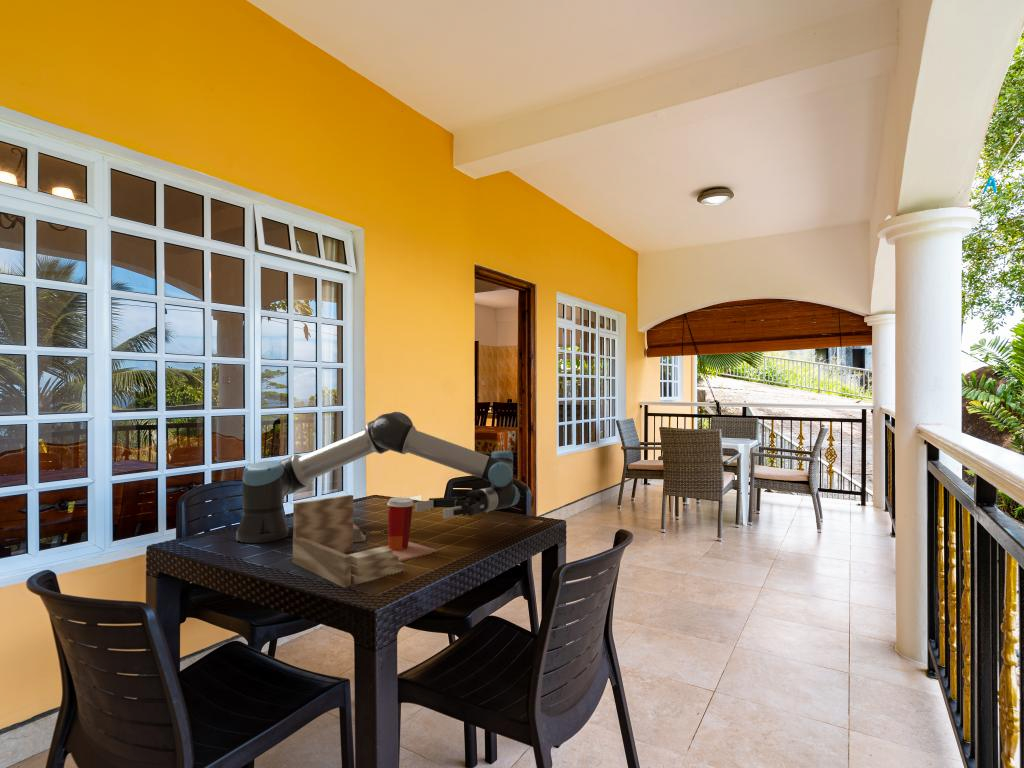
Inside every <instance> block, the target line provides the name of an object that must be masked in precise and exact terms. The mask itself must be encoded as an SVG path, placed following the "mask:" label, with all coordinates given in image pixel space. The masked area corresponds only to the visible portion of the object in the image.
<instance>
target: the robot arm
mask: <svg viewBox="0 0 1024 768" xmlns="http://www.w3.org/2000/svg"><path fill="white" fill-rule="evenodd" d="M389 451H393V452H396V453H399V454H401V455H406V454H411V455H413V456H416V457H420V458H423V459H424V460H425V459H426V460H428V461H430V462H434V463H437V464H440V465H443V466H445V467H447V468H451V469H454V470H457V471H459V472H462V473H464V474H468V475H471V476H474V477H476V478H479V479H483V480H485V481H486V482H489V483H491V484H490V487H486V488H479V489H473V490H470V491H469V492H467V494H466V496H460V497H459V496H457V495H455V496H449V497H448V496H447V497H430V498H428V500H423V501H418V502H415V503H414V507H415V508H414V509H415V512H417V513H418V512H423V511H428V510H430V511H433V510H434V508H439V509H440V508H443V509H442V519H451V518H456V517H460V516H469V517H472V516H474V515H477V514H481V513H486V514H488V513H489V512H490V511H495V510H500V509H507V508H511V507H513V506H515V505H517V504H518V503H519V501H520V497H521V494H520V491H519V488H518V487H517V486H516V485H515V484H514V454H513V452H512V451H511V450H494V451H492V452H491V455H487V454H484V453H481V452H478V451H476V450H472V449H470V448H467V447H465V446H461V445H458V444H456V443H453V442H450V441H449V440H448V441H447V440H445V439H442V438H439V437H436V436H434V435H431V434H427V433H425V432H422V431H419V430H417V429H416V427H415V425H414V423H413V421H412V420H411V418H410V417H409V416H408V415H407V414H405V413H403V412H400V411H394V412H392V411H391V412H390V413H387V412H386V413H383V414H381V415H379V416H378V417H377V418H375V419H373V420H371V421H369V422H367V423H366V425H365V428H364V429H362V430H359V431H358V432H355V433H353V434H350V435H348V436H346V437H344V438H342V439H339V440H337V441H334V442H332V443H330V444H328V445H325V446H322V447H320V448H319V449H316V450H313V451H311V452H309V453H306V454H304V455H303V456H302V455H299V454H294V455H292V456H289V457H288V458H287V457H286V458H284V459H282V460H280V461H276V460H265V461H259V462H253V463H250V464H247V465H246V466H245V467H244V469H243V473H242V476H241V477H242V516H241V518H240V520H239V524H238V527H237V530H236V533H235V540H236V541H237V542H238V541H240V542H239V543H243V542H245V544H257V543H258V544H259V543H267V542H268V543H270V542H275V541H278V540H281V539H282V540H283V539H284V538H286V537H288V536H289V526H288V524H287V520H286V517H285V514H284V509H283V505H284V503H283V501H284V497H286V496H288V495H292V494H294V493H296V492H297V491H300V490H301V489H304V488H306V487H308V486H310V485H311V484H312V480H314V479H315V478H318V477H322V476H323V475H325V474H327V473H329V472H330V473H331V472H332V471H334V470H336V469H339V468H341V467H343V466H346V465H348V464H350V463H352V462H355V461H358V460H360V459H362V458H364V457H366V456H369V455H371V454H373V453H377V454H378V455H379V454H380V455H382V454H384V453H387V452H389Z"/></svg>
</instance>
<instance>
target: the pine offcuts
mask: <svg viewBox="0 0 1024 768" xmlns="http://www.w3.org/2000/svg"><path fill="white" fill-rule="evenodd" d="M347 555H349V556H351V585H353V586H357V585H359V584H364V583H366V582H370V581H374V580H378V579H381V578H384V576H385V577H388V576H387V575H389V576H392V575H396V574H399V573H402V572H401V571H403V572H405V568H404V567H405V566H404V565H405V563H403V562H402V561H401V562H398V556H395V555H393V550H392V549H389V548H386V547H384V546H379V547H374V548H371V549H366V550H363V551H361V550H360V551H358V552H353V553H350V554H347ZM398 572H399V573H398ZM395 573H396V574H395ZM391 574H392V575H391ZM363 582H364V583H363Z"/></svg>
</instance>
